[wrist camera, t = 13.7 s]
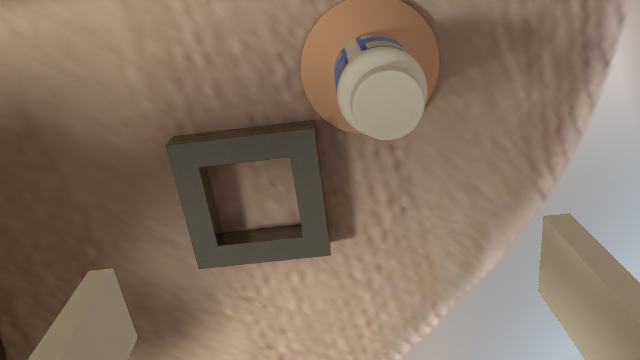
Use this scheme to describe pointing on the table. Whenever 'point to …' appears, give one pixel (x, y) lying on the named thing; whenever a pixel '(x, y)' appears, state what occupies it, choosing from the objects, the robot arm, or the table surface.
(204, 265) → the socket plate
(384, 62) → the pill bottle
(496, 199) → the table surface
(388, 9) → the coaster
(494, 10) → the table surface
